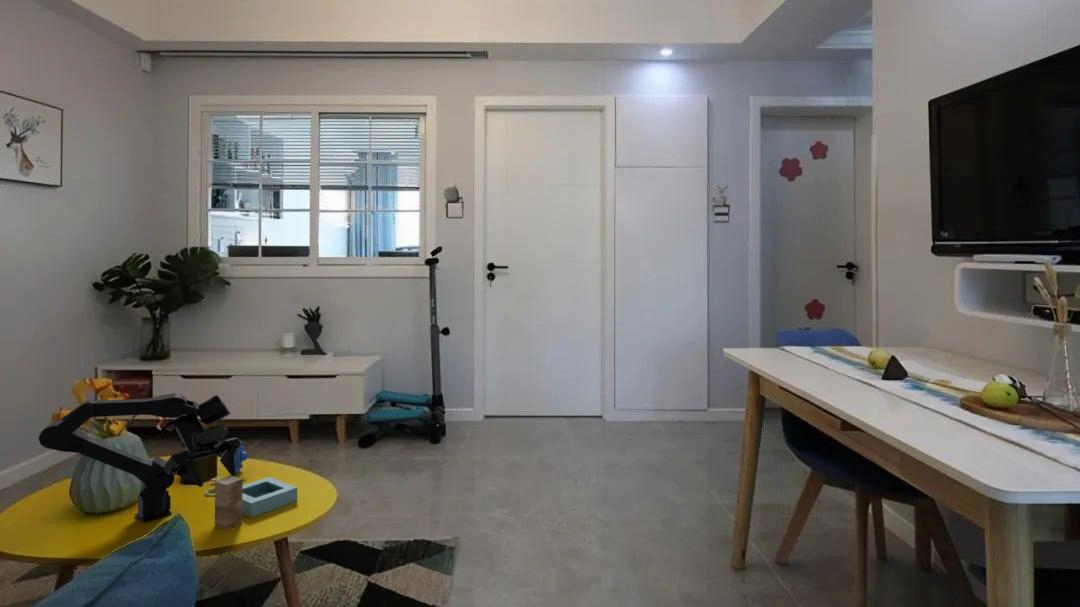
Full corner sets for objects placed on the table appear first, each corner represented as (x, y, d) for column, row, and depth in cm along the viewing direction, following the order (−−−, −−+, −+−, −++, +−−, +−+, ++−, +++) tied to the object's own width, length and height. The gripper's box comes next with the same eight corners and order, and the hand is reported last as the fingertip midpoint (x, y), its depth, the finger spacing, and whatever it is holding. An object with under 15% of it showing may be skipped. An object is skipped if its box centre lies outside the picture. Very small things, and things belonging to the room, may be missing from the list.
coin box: (251, 517, 151) (251, 503, 151) (223, 504, 159) (223, 491, 158) (297, 500, 163) (297, 487, 163) (269, 489, 171) (269, 476, 170)
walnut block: (226, 529, 144) (226, 484, 143) (214, 525, 146) (214, 481, 145) (242, 522, 148) (242, 479, 147) (231, 518, 150) (231, 475, 150)
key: (219, 482, 176) (219, 475, 176) (234, 493, 168) (235, 486, 168) (194, 488, 171) (194, 481, 170) (208, 500, 163) (208, 493, 162)
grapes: (243, 480, 177) (243, 443, 177) (220, 481, 176) (220, 444, 175) (254, 467, 189) (254, 433, 188) (233, 468, 187) (233, 433, 187)
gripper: (171, 424, 142) (198, 474, 138) (237, 409, 159) (263, 453, 155) (152, 449, 145) (178, 498, 141) (219, 432, 162) (244, 476, 158)
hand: (218, 480), depth 149 cm, fingers open, 9 cm apart
